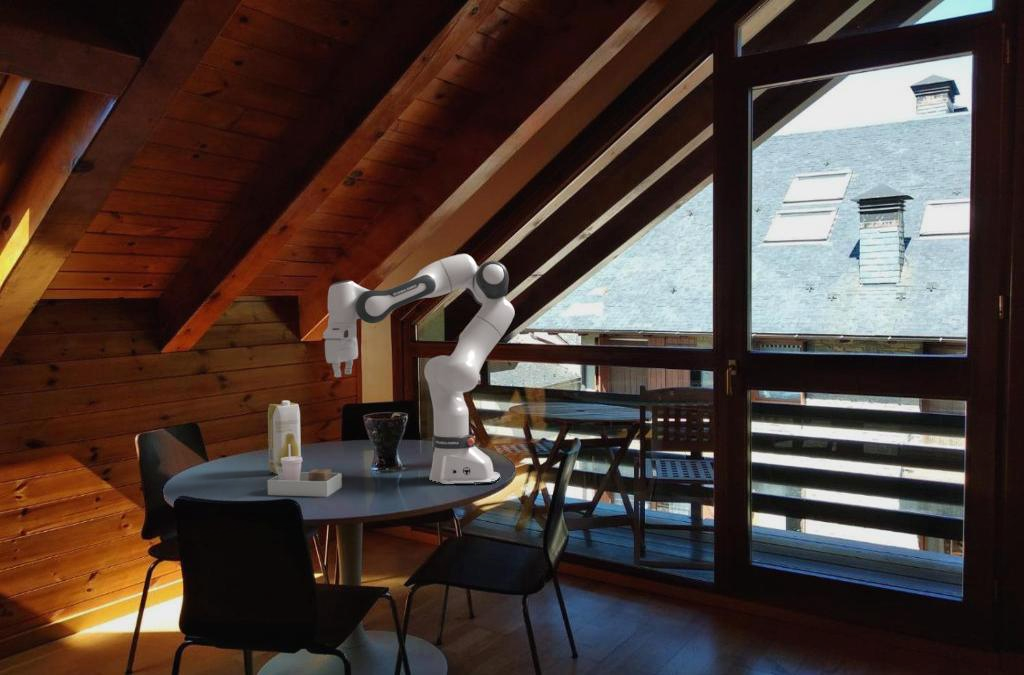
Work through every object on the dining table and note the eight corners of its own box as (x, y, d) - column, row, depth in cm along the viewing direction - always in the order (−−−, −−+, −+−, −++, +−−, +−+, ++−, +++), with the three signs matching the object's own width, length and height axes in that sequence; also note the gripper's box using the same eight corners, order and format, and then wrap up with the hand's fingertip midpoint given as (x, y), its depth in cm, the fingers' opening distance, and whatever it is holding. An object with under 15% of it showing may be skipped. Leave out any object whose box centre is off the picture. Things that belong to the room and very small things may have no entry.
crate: (341, 489, 247) (341, 473, 247) (327, 499, 235) (327, 482, 235) (284, 487, 250) (284, 471, 249) (267, 497, 238) (267, 480, 237)
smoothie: (280, 489, 244) (279, 442, 244) (302, 487, 247) (301, 441, 246) (281, 494, 238) (280, 446, 238) (304, 492, 241) (303, 444, 240)
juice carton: (276, 476, 266) (275, 402, 264) (266, 472, 272) (265, 400, 270) (303, 472, 271) (302, 400, 270) (293, 468, 278) (292, 398, 276)
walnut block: (331, 489, 244) (330, 469, 244) (325, 493, 239) (324, 473, 239) (315, 488, 245) (314, 469, 244) (308, 492, 240) (308, 472, 239)
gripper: (344, 330, 270) (344, 372, 270) (321, 333, 250) (321, 378, 250) (362, 330, 269) (363, 372, 270) (340, 333, 249) (341, 378, 249)
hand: (343, 375), depth 260 cm, fingers open, 8 cm apart
